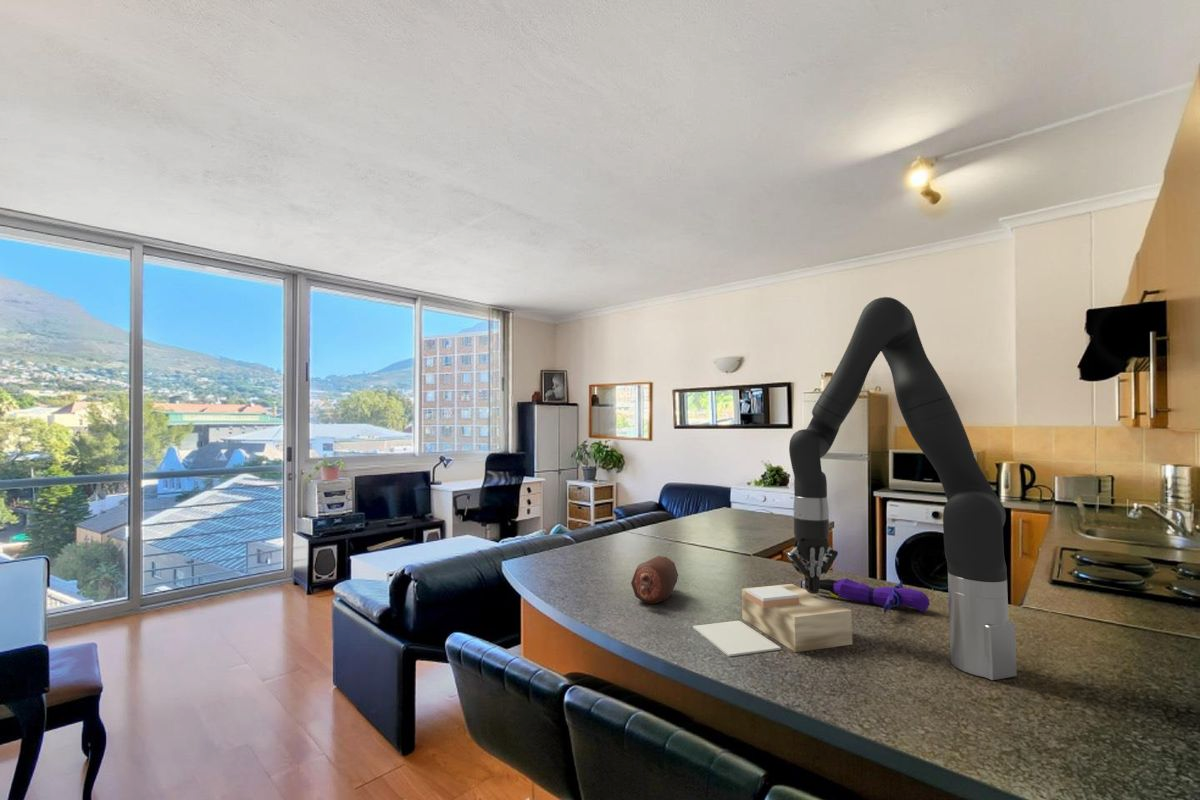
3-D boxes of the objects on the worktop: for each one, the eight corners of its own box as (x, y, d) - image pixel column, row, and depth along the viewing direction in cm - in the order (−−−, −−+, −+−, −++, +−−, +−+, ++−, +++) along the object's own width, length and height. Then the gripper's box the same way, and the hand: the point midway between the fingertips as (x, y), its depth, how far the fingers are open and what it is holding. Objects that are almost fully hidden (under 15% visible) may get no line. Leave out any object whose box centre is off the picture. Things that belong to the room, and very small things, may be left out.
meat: (647, 586, 153) (647, 550, 154) (686, 591, 148) (686, 554, 149) (622, 606, 135) (622, 565, 136) (665, 612, 130) (665, 570, 131)
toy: (788, 607, 137) (923, 632, 119) (787, 585, 137) (922, 606, 119) (817, 582, 159) (935, 600, 141) (817, 563, 159) (934, 579, 141)
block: (852, 644, 111) (851, 610, 112) (795, 652, 107) (794, 617, 108) (792, 612, 130) (792, 583, 131) (742, 618, 127) (741, 588, 127)
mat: (780, 649, 109) (780, 647, 109) (728, 656, 105) (728, 654, 105) (739, 622, 124) (739, 620, 124) (692, 627, 121) (692, 625, 121)
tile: (799, 604, 116) (799, 594, 116) (763, 608, 113) (763, 598, 113) (779, 594, 122) (779, 585, 122) (745, 598, 120) (745, 589, 120)
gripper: (796, 520, 117) (797, 600, 116) (846, 517, 120) (848, 595, 119) (776, 514, 124) (777, 590, 123) (824, 512, 127) (825, 585, 126)
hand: (812, 592), depth 121 cm, fingers closed
